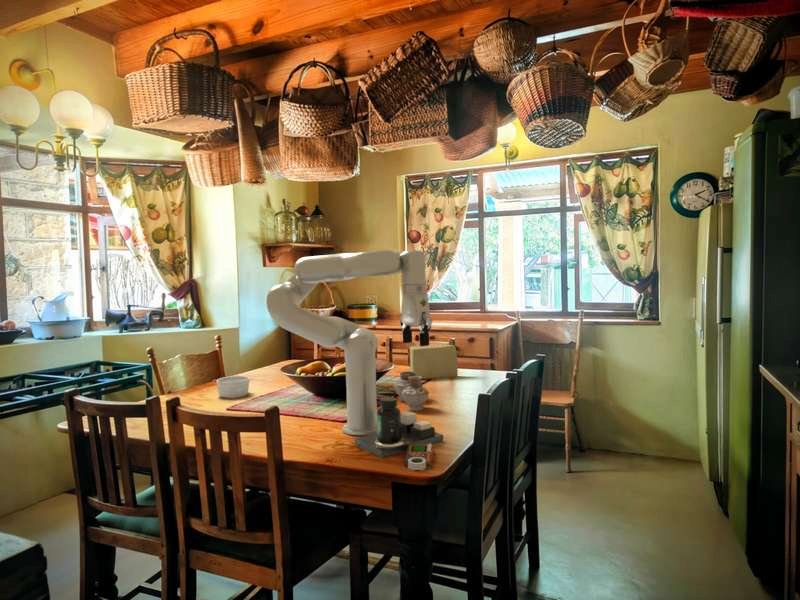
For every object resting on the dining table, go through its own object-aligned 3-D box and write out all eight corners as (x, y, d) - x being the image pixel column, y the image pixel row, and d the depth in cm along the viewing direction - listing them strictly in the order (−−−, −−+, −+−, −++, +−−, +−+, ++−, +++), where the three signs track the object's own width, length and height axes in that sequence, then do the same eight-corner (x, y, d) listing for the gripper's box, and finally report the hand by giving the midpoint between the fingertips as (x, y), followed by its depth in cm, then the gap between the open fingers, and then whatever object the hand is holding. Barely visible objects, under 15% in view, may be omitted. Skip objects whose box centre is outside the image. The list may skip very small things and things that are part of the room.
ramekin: (244, 399, 214) (243, 382, 214) (212, 399, 215) (211, 382, 214) (254, 391, 228) (253, 375, 227) (223, 391, 228) (223, 376, 228)
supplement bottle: (377, 445, 147) (376, 402, 146) (377, 437, 154) (376, 396, 153) (401, 444, 147) (401, 401, 147) (400, 436, 154) (399, 396, 154)
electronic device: (404, 462, 134) (408, 440, 149) (404, 473, 134) (409, 450, 149) (430, 463, 133) (432, 441, 148) (430, 474, 134) (433, 451, 148)
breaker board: (354, 445, 155) (354, 430, 154) (414, 430, 168) (414, 416, 167) (381, 458, 143) (381, 442, 143) (443, 441, 156) (443, 426, 156)
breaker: (400, 424, 162) (399, 413, 162) (409, 422, 164) (409, 411, 164) (407, 427, 159) (406, 416, 159) (416, 425, 161) (416, 413, 161)
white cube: (413, 434, 156) (413, 422, 156) (423, 431, 158) (423, 420, 158) (421, 437, 153) (421, 425, 153) (431, 434, 156) (430, 423, 155)
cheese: (455, 374, 256) (454, 343, 255) (459, 378, 246) (459, 346, 245) (409, 376, 254) (409, 345, 253) (412, 380, 244) (412, 348, 243)
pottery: (403, 413, 188) (402, 380, 187) (391, 397, 212) (391, 368, 211) (434, 411, 190) (433, 378, 189) (419, 395, 214) (418, 366, 213)
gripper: (440, 289, 161) (441, 345, 161) (409, 289, 175) (411, 340, 176) (419, 291, 157) (421, 348, 158) (389, 290, 171) (391, 342, 172)
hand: (415, 344), depth 167 cm, fingers open, 9 cm apart
